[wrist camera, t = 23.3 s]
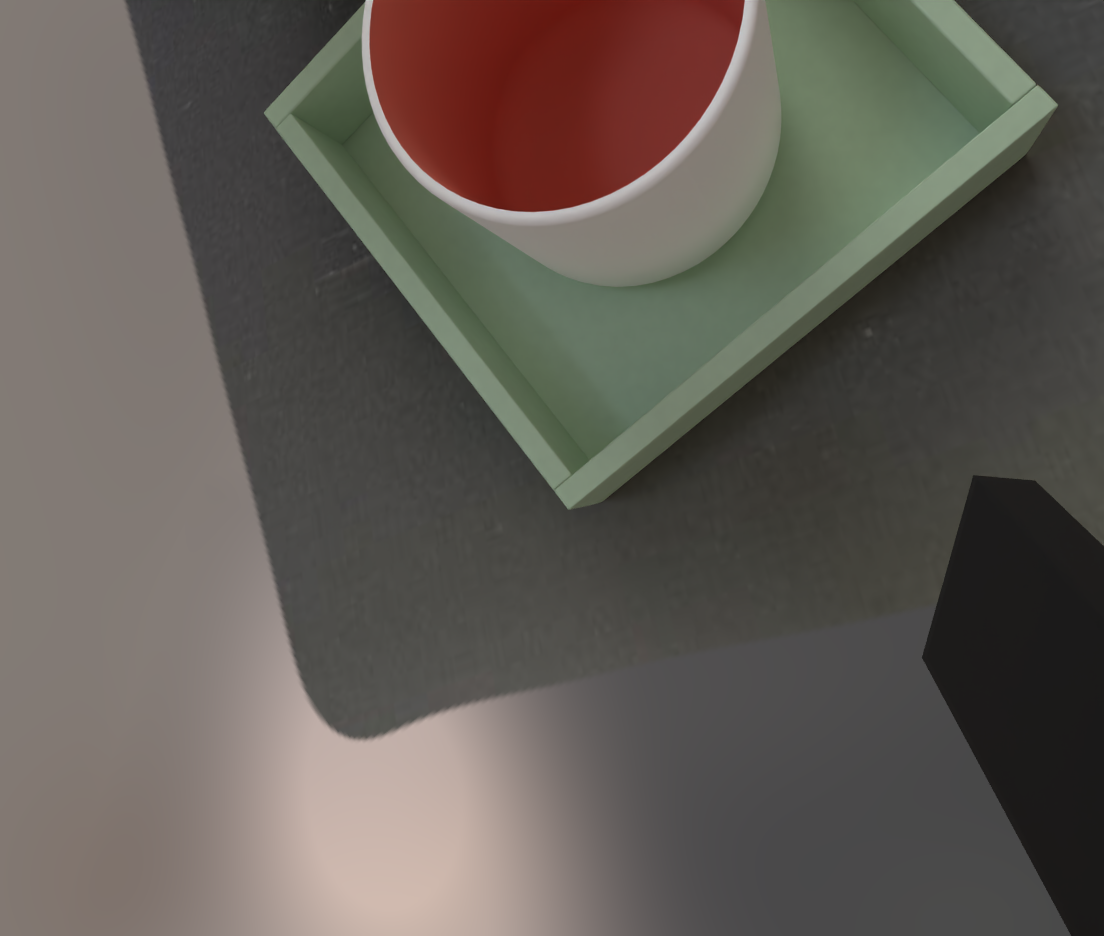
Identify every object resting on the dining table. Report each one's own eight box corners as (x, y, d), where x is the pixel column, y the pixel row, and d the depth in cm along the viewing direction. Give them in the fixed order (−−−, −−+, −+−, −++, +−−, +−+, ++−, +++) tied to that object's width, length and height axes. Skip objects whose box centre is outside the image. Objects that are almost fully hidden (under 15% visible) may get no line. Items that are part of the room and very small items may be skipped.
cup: (850, 139, 29) (856, -13, 20) (621, 353, 31) (527, 311, 22) (647, -62, 31) (563, -291, 21) (445, 155, 33) (288, 35, 24)
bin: (325, 150, 35) (262, 112, 32) (673, -215, 31) (650, -310, 27) (600, 503, 32) (568, 510, 28) (1028, 153, 28) (1059, 104, 24)
